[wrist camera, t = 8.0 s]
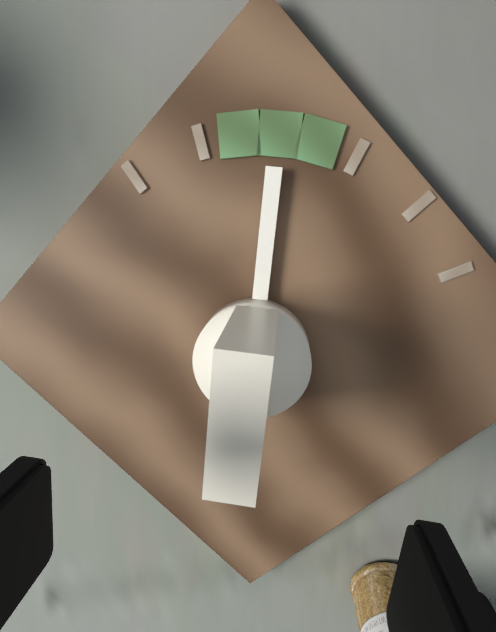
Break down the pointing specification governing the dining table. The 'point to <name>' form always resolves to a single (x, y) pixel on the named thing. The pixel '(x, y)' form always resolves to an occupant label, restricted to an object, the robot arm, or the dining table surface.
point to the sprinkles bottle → (372, 595)
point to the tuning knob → (249, 371)
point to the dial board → (284, 288)
